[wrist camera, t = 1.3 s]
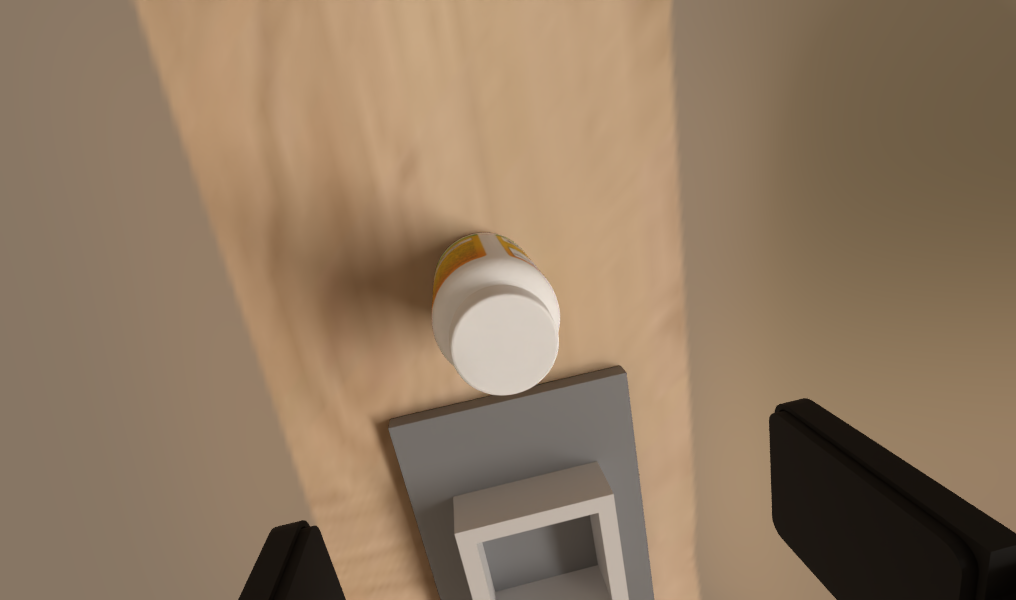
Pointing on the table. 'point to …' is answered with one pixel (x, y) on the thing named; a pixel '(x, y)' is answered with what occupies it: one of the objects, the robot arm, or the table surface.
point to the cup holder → (530, 493)
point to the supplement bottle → (494, 314)
